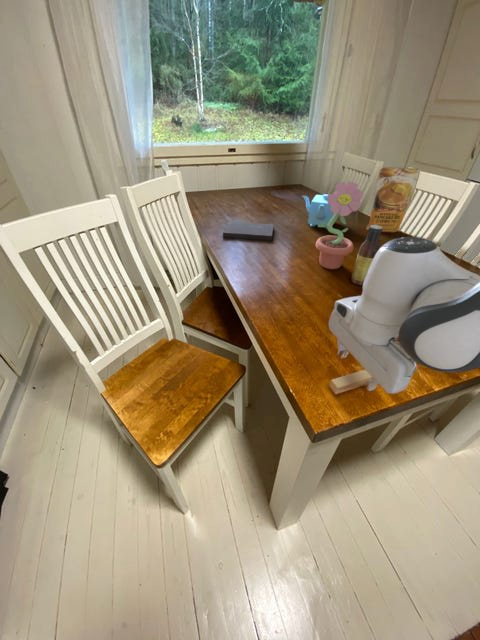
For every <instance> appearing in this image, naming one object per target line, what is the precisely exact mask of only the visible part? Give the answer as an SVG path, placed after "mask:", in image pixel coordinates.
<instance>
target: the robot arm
mask: <svg viewBox="0 0 480 640" xmlns="http://www.w3.org/2000/svg"><path fill="white" fill-rule="evenodd" d="M328 329H329V331H330V332H331V333H332V335H333V336H334V337H335V338H336V339H337V340H336V342H337V348H338V351H337V353H336V354H337V356H338V357H339V358H340V359H341V360H343V359H346V358H347V357H348V355H349V353H350V355H351V356H352V357H354V359H355V360H356V361H357V363H359V364H360V366H361V367H362V368H363V370H366V371H367V372H368V373H369V374H370V375H371V376H372V377H373V379H370V380H367V381H366V382H365V384H364V385H363V386H364V387H365V388H366V390H367V391H368V392H371V391H374V390H376V388H377V387H378V386H379V387H380V388H381V389H382V390H383V391H384V392H385V393H387V394H391V395H392V394H398V393H400V392H404V391H405V390H407V388H408V386H409V384H410V382H411V380H412V378H413V375H414V374H415V372H416V371H417V369H418V365H421V366H423V367H425V368H427V369H430V370H432V371H437V372H441V373H465V372H470V371H473V370H476V369H478V368H480V274H479V273H478V272H474V271H471V270H468V269H466V268H464V267H463V266H460V265H458V264H457V263H455V262H454V261H453V260H452V259H450V258H449V257H448V256H447V255H446V254H445V253H444V252H443V251H442V250H441V248H440V247H439V245H438V244H437V243H436V242H434V241H432V240H430V239H426V238H422V237H417V236H416V237H415V236H405V237H399V238H394V239H390V240H389V241H387V242H386V243H384V244H383V245H382V246H380V247H379V250H378V251H377V253H376V255H375V256H374V258H373V260H372V262H371V265H370V267H369V269H368V272H367V274H366V277H365V280H364V282H363V285H362V292H361V295H356V296H349V297H344V298H341V299H338V300H335V301H334V308H333V310H332V311H331V314H330V316H329V320H328ZM398 340H399V341H398Z"/></svg>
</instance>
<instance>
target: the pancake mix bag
mask: <svg viewBox="0 0 480 640" xmlns="http://www.w3.org/2000/svg"><path fill="white" fill-rule="evenodd" d="M378 172H379V173H378V175H377V179H376V186H375V191H374V197H373V205H372V207H371V212H370V218H369V222H368V224H367V226H366V229H365V230H366V231H368V229H369V226H371V225H377V226H381V227H382V228H383V229H382V232H381V233H396V232H400V228H401V225H402V223H403V221H404V219H405V216H406V214H407V211H408V209H409V206H410V205H411V204H410V203H411V202H412V199H413V197H414V195H415V191H416V187H417V184H418V180H419V177H420V173H421V170H419V168H415V167H413V168H411V167H408V168H407V167H382V168H380V169H379V171H378Z"/></svg>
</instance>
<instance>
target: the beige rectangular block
mask: <svg viewBox="0 0 480 640" xmlns="http://www.w3.org/2000/svg"><path fill="white" fill-rule="evenodd" d="M370 379H373V377H372V376H371V375H370V374H369V373H368V372H367V371H366V370H365V369H361V370H359V371H356V372H355V371H354V372H352V373H348V374H346V375H343V376H339V377H336V378H333V379H331V380H330V382H329V385H328V387H329V388H330V390H331V391H332V392H333V393H334V394H335V395H338V394H341V393H344V392H347V391H350V390H355V389H357V388H359V387H362V386H364V384H365V382H366V381H367V380H370Z"/></svg>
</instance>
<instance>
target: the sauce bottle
mask: <svg viewBox="0 0 480 640" xmlns="http://www.w3.org/2000/svg"><path fill="white" fill-rule="evenodd" d="M382 229H383V228H382V227H381V226H377V225H371V226H369V229H368V230H367V236H366V237H365V241H364V242H362V244H360V246H359V250H358V253H357V255H356V260H355V263H354V266H353V271H352V274H351V282H352V283H353V284H354V285H357V286H363V282H364V280H365V277H366V274H367V272H368V269H369V267H370V265H371V262H372V260H373V258H374V256H375V255H376V253H377V251H378V250H379V249H380V242H379V241H380V237H381V234H382V233H383V232H382Z"/></svg>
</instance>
